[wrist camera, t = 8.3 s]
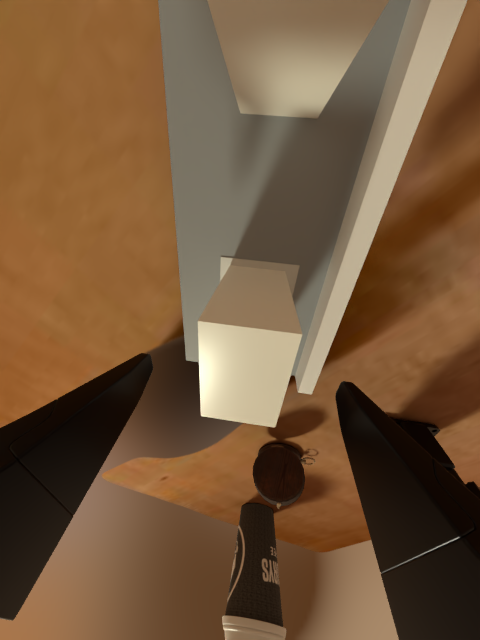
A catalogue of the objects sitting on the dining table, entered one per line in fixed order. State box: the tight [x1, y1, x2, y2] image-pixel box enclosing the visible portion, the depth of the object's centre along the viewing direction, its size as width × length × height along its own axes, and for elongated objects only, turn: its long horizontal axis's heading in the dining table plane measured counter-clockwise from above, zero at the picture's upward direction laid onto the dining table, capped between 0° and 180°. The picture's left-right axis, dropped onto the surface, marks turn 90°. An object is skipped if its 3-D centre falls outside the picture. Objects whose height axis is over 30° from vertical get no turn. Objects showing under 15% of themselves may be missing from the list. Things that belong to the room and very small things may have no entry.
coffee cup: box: [222, 503, 286, 640], centre depth 35 cm, size 10×10×15 cm
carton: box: [198, 265, 302, 428], centre depth 13 cm, size 4×6×8 cm
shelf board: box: [158, 0, 467, 394], centre depth 13 cm, size 26×12×4 cm, turn 175°
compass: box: [253, 444, 315, 509], centre depth 26 cm, size 8×8×7 cm
